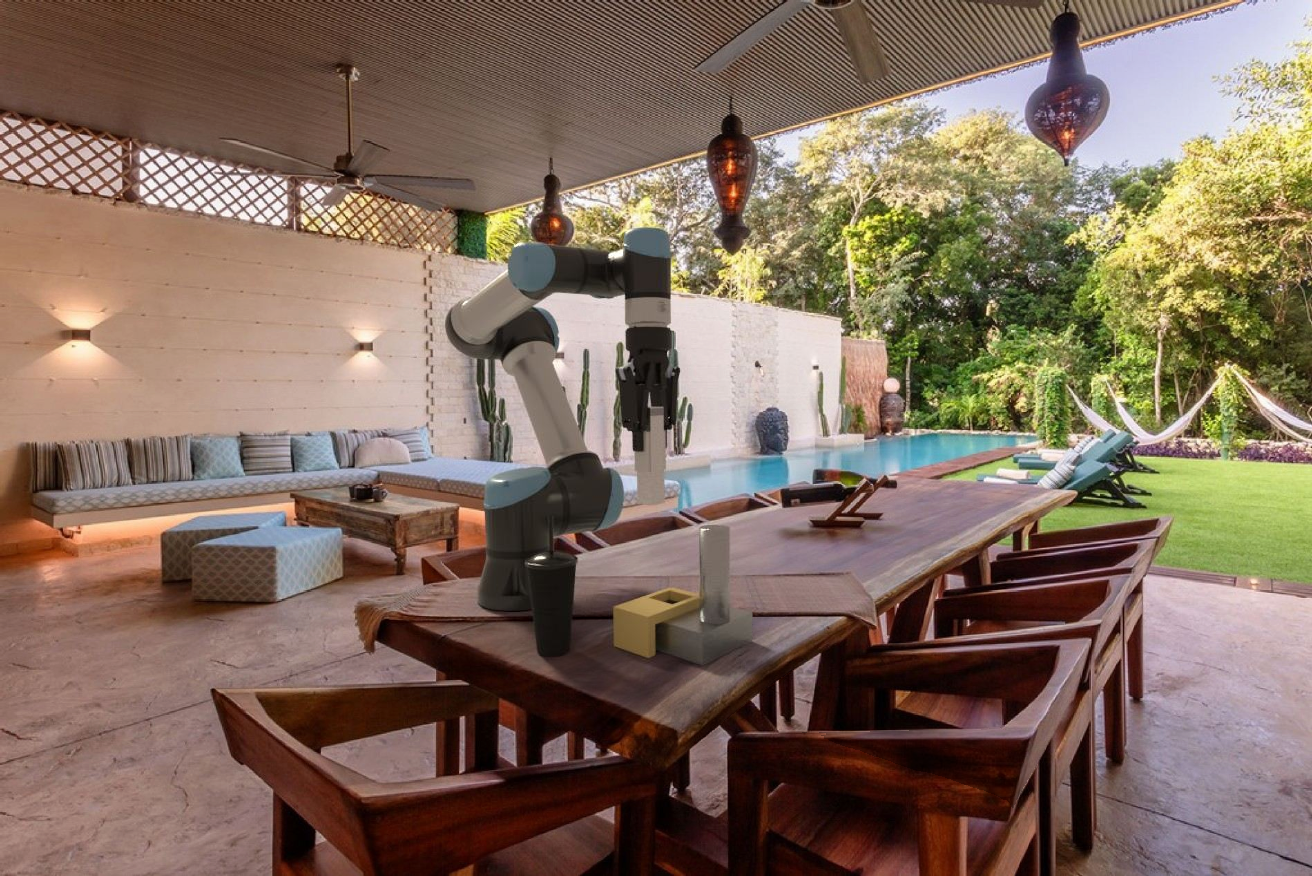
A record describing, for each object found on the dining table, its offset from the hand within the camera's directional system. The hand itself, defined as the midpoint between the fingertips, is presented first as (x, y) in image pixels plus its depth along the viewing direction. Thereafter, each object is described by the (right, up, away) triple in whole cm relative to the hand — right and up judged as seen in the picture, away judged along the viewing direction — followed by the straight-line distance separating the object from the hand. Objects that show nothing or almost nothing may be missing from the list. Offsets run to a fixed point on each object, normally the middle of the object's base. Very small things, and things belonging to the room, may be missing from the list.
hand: (650, 469), depth 117 cm
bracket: (+2, -26, -9) cm, 27 cm away
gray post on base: (+6, -25, -9) cm, 28 cm away
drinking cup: (-14, -26, -13) cm, 32 cm away
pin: (0, -6, 0) cm, 6 cm away
